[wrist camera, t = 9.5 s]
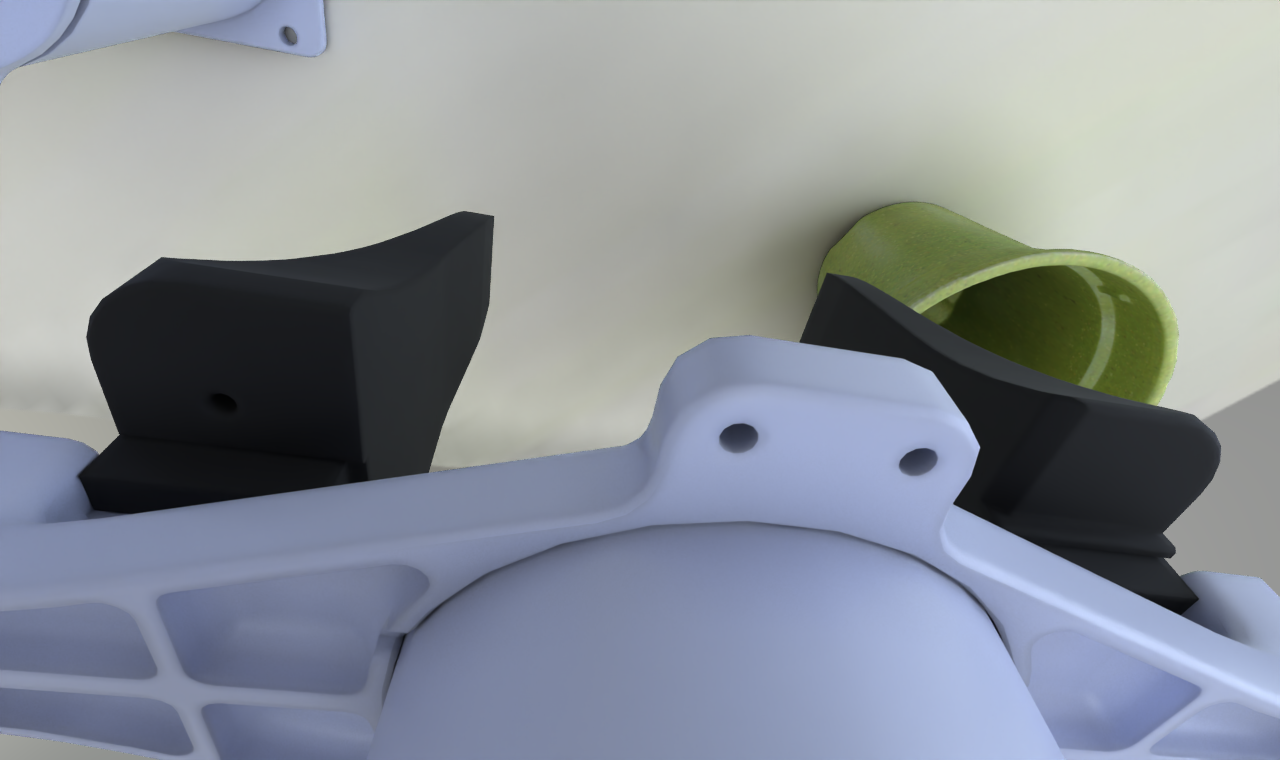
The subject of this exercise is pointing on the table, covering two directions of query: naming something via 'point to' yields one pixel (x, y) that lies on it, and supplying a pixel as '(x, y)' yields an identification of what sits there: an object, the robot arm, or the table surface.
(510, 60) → the table surface
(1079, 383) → the plant pot
